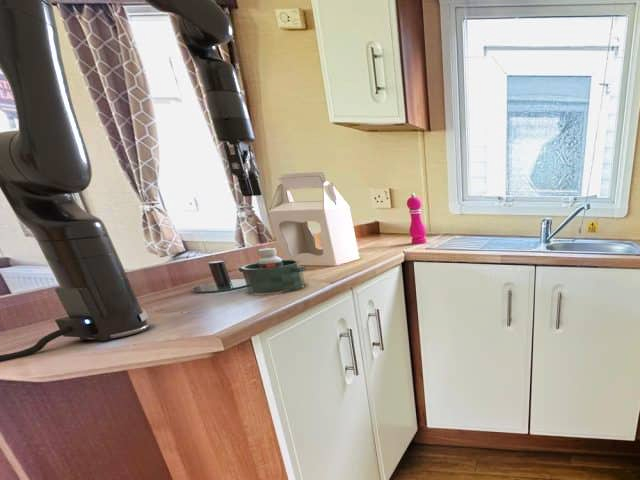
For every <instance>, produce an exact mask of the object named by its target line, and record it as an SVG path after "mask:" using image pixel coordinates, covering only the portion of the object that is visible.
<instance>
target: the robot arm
mask: <svg viewBox="0 0 640 480" xmlns="http://www.w3.org/2000/svg"><path fill="white" fill-rule="evenodd" d="M143 2H145V3H146V4H147V5H149V6H151V7H152V8H154V9H155V10H157V11H159V12H161V13H167V14H173V15H176V25H177V29H178V32H179V35H180V37H181V40H182V41H183V43H184V46H185V48H186V49H187V51H188V53H189V55H190V57H191V59H192V60H193V63H194V64H195V66H196V68H197V69H198V72H199V73H198V74H199V77H200V79H201V83H202V86H203V90H204V93H205V98H206V104H207V108H208V111H209V114H210V118H211V122H212V124H213V128H214V131H215V134H216V138H217V140H218V141H219V142H221V143H225V144H224V150H225V154H226V156H227V160H228V163H229V167H230V172H231V174H232V175H233V176H234V177H235V178H236V179H237V182H238V186H239V189H240V192H241V195H242V197H253V196H254V197H258V196H262V195H263V193H262V188H261V185H260V182H259V177H260V172H259V168H258V165H257V160H256V158H255V154H254V150H253V149H252V148H249V147H248V143H254V142H255V141H256V136H255V132H254V129H253V125H252V122H251V118H250V114H249V110H248V107H247V104H246V101H245V99H244V96H243V92H242V89H241V86H240V85H241V84H240V81H239V78H238V74H237V71H236V69H235V67H234V65H233V64H232V63H231V62H230V61H227V60H226V59H225V60H224V59H222V58H221V56H220V55H219V53H218V50H217V47H218V46H223V45H226V44H227V43H229V42H230V41H231V40H232V38H233V36H234V30H233V25H232V22H231V20H230V18H229V16H228V15H227V13H226V12H225V11H224V10H223V9H222V7H220V5H219V4H218V3H216V1H214V0H143ZM58 31H59V30H58V28H57V21H56V17H55V11H54V8H53V2H52V0H0V71H1V73H2V74H3V75H4V77H5V79H6V81H7V83H8V85H9V88H10V91H11V94H12V96H13V101H14V102H13V103H14V106H15V111H16V117H17V122H18V123H17V125H18V130H8V131H2V132H0V190H1V192H2V194H3V196H4V197H5V199H6V201H7V203H8V204H9V206H10V208H11V210H12V211H13V212H14V214H15V216H16V218H17V219H18V220H19V221H20V222H21V224H23V226H25V227H26V228H27V229H28V230H29V231H30V232H31V234H32V236H33V237H34V239H35V241H36V242H37V244H38V247H39V249H40V250H41V253H42V254H43V256H44V258H45V260H46V262H47V264H48V266H49V268H50V270H51V272H52V275H54V278H55V280H56V282H57V284H58V286H56V287H55V288H54V291H55V293H56V295H57V297H58V299H59V301H60V303H61V305H62V307H63V309H64V311H65V313H66V314H67V316H64V317H59V318H56V319H54V322H55V323H56V325H57V327H58V329H57V330H55V331H53V332H51V333H49V334H47V335H45V336H43V337H41V338H40V339H39V340H38V341H37V343H35V344H34V345H33V346H30V347H28V348H26V349H22V350H19V351H14V352H10V353H5V354H0V362H4V361H9V360H15V359H18V358H19V359H20V358H21V357H22V358H23V357H27V356H30V355H32V354H34V353H35V354H36V353H38V352H40V351H42V350H43V349H44V348H45V346H46V345H47V344H49V343H50V342H51V341H53V340H55V339H57V338H59V337H66V338H79V340H80V341H96V342H97V341H98V342H106V341H109V340H113V339H119V338H123V337H128V336H131V335H135V334H139V333H141V332H144V331H146V330H148V329H149V328H150V327H151V326H150V324H149V322H148V321H147V320H148V318H149V316H148V313H147V311H146V310H144V311H143V309H142V307H141V304H140V302H139V300H138V298H137V295H136V293H135V291H134V289H133V286H132V284H131V281H130V279H129V278H128V275H127V273H126V271H125V268H124V266H123V264H122V261H121V259H120V257H119V253H117V250H116V248H115V245H114V243H113V241H112V238H111V236H110V234H109V231H108V230H107V229H108V228H107V227H106V225H105V223H104V221H103V220H101V218H99V217H97V216H95V215H93V214H90V213H89V212H87V211H85V210H84V209H83V208H82V207H81V206H80V205H79V204H78V202H77V200H76V199H75V197H74V194H79V193H81V192H83V191H85V190H86V189H87V188H88V187H89V186H90V184H91V182H92V177H93V171H92V170H93V169H92V163H91V159H90V156H89V153H88V148H87V146H86V143H85V140H84V136H83V133H82V131H81V127H80V124H79V121H78V119H77V114H76V111H75V108H74V104H73V102H72V101H73V100H72V95H71V92H70V88H69V82H68V78H67V73H66V70H65V65H64V60H63V56H62V51H61V44H60V37H59V32H58ZM226 143H228V144H226Z"/></svg>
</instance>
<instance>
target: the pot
mask: <svg viewBox="0 0 640 480" xmlns="http://www.w3.org/2000/svg"><path fill="white" fill-rule="evenodd" d="M281 260H282V259H281ZM282 263H283V266H280V267H273V268H262V269H260V267H259V264H258V262H254V263H250V264H245V265H243V266H241V267H238V271H239V272H240V273H242V274H243V279H245V281H246V284H247V287H246V288H247V291H248V292H249V293H251V294H270V293H277V295H279V294H286V293H292V292H295V291H299V290H301V289H303V288H305V287H306V282H305V277H304V274H303V273H304V272H306V271H307V267H306V265H300V262H299V261H298V260H282Z"/></svg>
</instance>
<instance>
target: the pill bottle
mask: <svg viewBox="0 0 640 480" xmlns="http://www.w3.org/2000/svg"><path fill="white" fill-rule="evenodd" d="M257 252H258V253H257V254H258V255H259V257H260V258H259V259H258V260H257V263H258V264H259V267H260V269H262V268H273V267H280V266H283V263H282V257H280V256H277V249H276V248H275V247H266V248H259V249H258V250H257Z"/></svg>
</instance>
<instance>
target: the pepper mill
mask: <svg viewBox="0 0 640 480" xmlns="http://www.w3.org/2000/svg"><path fill="white" fill-rule="evenodd" d="M406 206H407V208H408V209H409V210H408V212H409V215H410V225H409V231H408V232H409V236H410V237H411V244H413V245H421V244H426V243H427V238H426V235H427V230H426V227H425V225H424V223H423V220H422V216H421V214H422V210H421V207H422V202H421V199H420V198H418V197H416V194H415V193H414V192H412V193H410V197H409V198H408V199H407V200H406Z"/></svg>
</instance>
